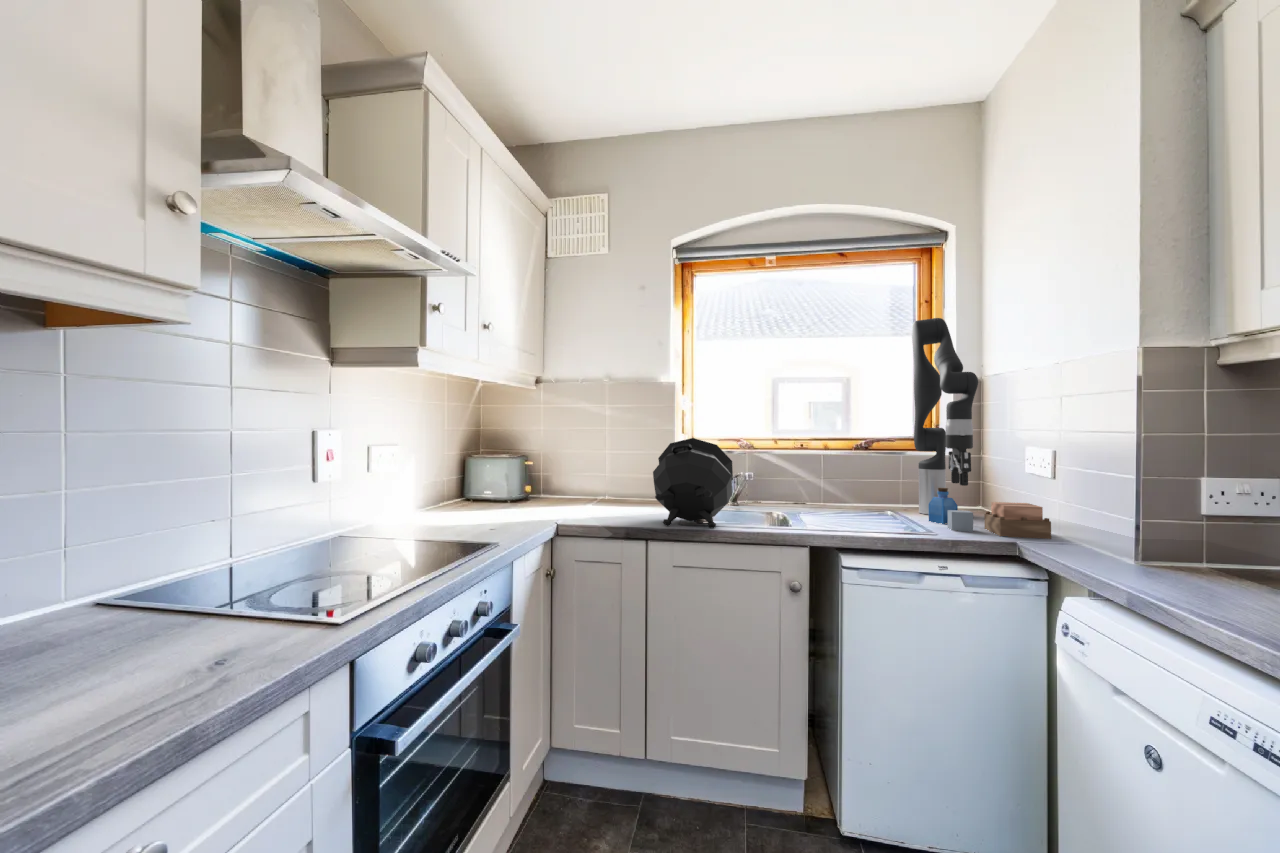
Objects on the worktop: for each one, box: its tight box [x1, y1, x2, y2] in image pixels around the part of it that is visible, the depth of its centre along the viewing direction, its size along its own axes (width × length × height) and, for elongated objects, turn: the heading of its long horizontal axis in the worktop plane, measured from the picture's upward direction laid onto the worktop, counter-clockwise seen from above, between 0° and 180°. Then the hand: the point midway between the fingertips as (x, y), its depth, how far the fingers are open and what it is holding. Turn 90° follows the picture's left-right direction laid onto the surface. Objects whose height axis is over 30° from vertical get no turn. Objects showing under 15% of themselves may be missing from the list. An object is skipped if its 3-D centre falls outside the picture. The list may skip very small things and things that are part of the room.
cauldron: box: [652, 437, 734, 529], centre depth 179 cm, size 28×28×24 cm
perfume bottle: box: [928, 487, 959, 525], centre depth 185 cm, size 6×6×12 cm
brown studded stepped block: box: [983, 501, 1052, 540], centre depth 163 cm, size 13×13×9 cm
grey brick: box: [947, 509, 974, 532], centre depth 170 cm, size 4×6×6 cm
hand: (959, 484), depth 170 cm, fingers open, 8 cm apart
